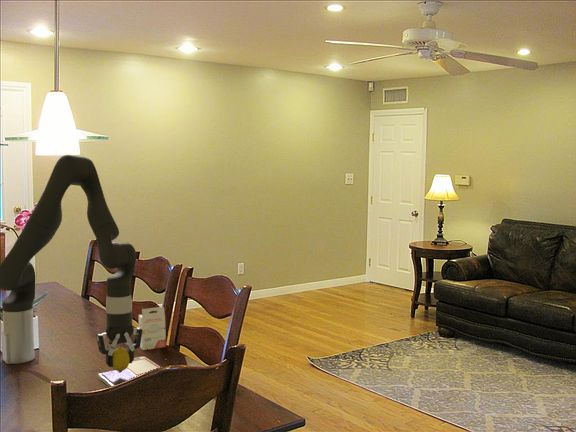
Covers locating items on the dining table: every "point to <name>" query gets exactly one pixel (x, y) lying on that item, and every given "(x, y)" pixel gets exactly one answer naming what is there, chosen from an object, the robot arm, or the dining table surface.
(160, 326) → the ink cartridge box
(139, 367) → the marked sheet
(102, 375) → the ink pad
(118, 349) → the lemon
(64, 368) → the dining table surface
